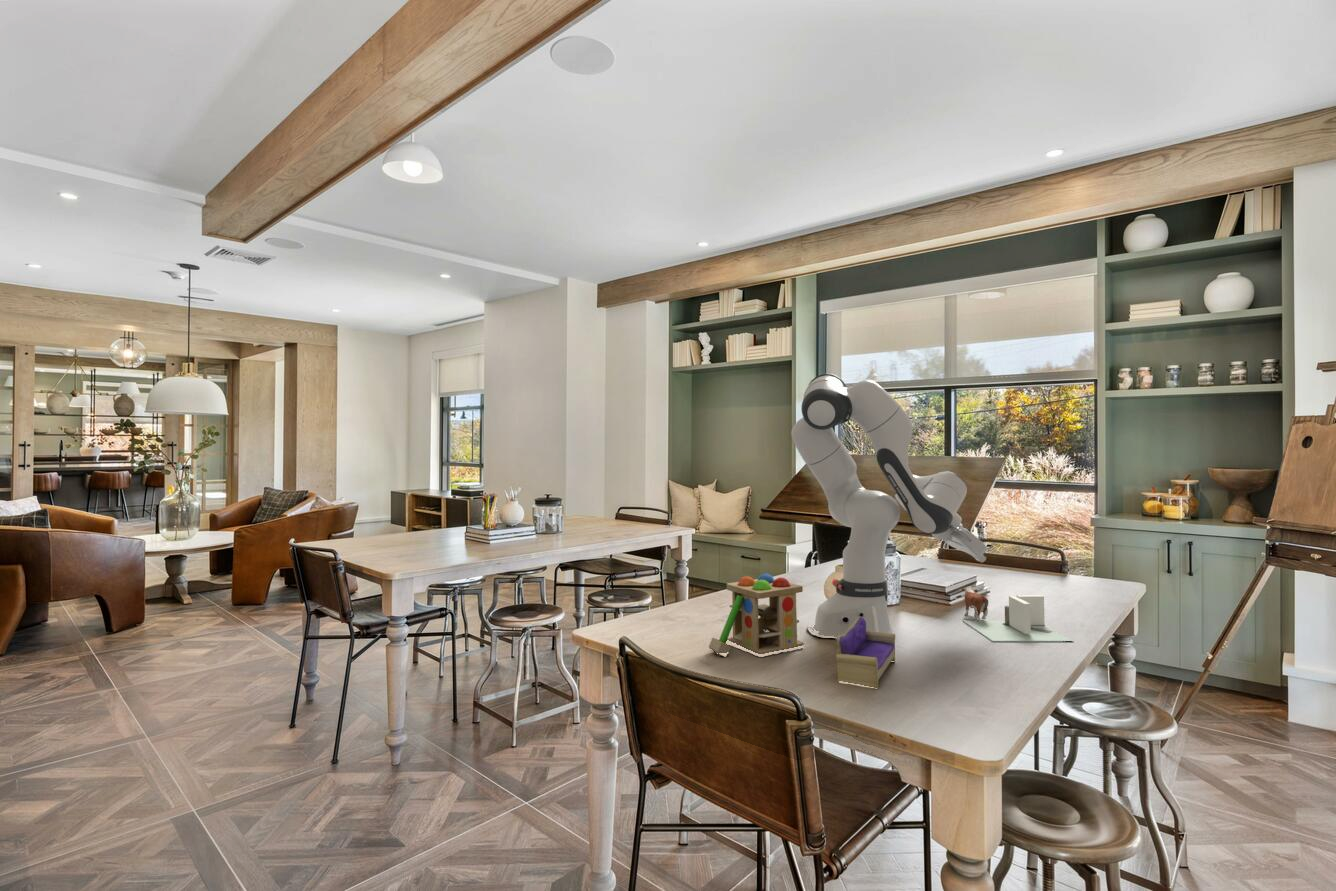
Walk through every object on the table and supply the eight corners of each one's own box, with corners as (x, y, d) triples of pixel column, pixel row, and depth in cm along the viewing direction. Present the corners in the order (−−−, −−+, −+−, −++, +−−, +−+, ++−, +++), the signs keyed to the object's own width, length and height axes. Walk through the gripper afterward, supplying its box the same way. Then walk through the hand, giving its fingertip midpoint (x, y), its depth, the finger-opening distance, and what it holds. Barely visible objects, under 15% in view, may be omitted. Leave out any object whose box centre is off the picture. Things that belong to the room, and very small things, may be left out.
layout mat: (992, 642, 169) (992, 640, 169) (963, 621, 189) (963, 620, 189) (1073, 642, 167) (1073, 640, 167) (1035, 621, 187) (1035, 620, 187)
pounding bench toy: (731, 665, 155) (730, 589, 155) (698, 649, 167) (697, 579, 167) (805, 648, 166) (803, 577, 167) (769, 635, 179) (767, 569, 179)
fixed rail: (1007, 625, 182) (1006, 596, 182) (1003, 623, 185) (1002, 595, 185) (1045, 625, 181) (1044, 596, 182) (1041, 623, 184) (1040, 594, 184)
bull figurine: (974, 612, 199) (973, 585, 200) (991, 622, 186) (991, 593, 186) (959, 612, 200) (958, 585, 200) (975, 621, 186) (975, 592, 187)
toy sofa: (877, 691, 137) (876, 642, 137) (836, 685, 141) (835, 637, 141) (897, 662, 155) (896, 619, 155) (859, 657, 159) (858, 615, 159)
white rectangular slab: (1009, 625, 182) (1008, 596, 182) (1015, 625, 182) (1014, 596, 182) (1024, 634, 173) (1024, 603, 173) (1030, 634, 173) (1030, 603, 173)
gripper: (967, 520, 168) (1008, 558, 168) (940, 512, 189) (976, 546, 188) (950, 537, 169) (990, 575, 168) (924, 528, 189) (960, 562, 188)
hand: (982, 560), depth 178 cm, fingers closed
